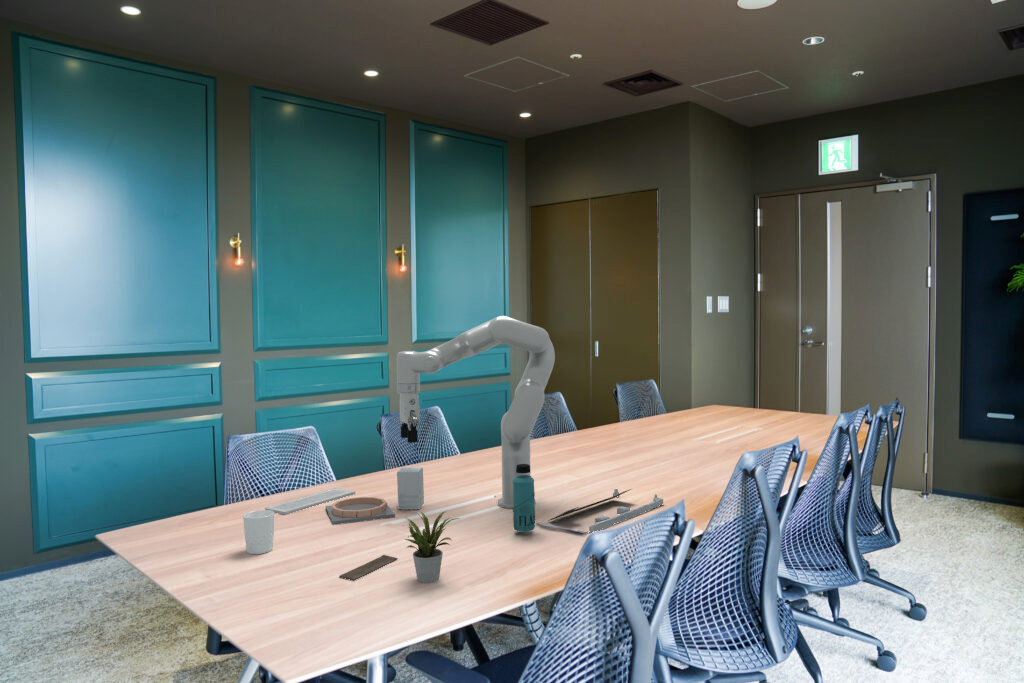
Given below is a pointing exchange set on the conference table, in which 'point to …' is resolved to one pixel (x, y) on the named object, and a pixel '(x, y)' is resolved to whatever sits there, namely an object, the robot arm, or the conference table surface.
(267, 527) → the white cup
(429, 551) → the house plant
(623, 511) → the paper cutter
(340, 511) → the ring holder
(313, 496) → the plaque
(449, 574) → the conference table surface
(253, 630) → the conference table surface
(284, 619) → the conference table surface
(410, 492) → the supplement box
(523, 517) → the beverage bottle
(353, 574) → the wooden plank
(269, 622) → the conference table surface
